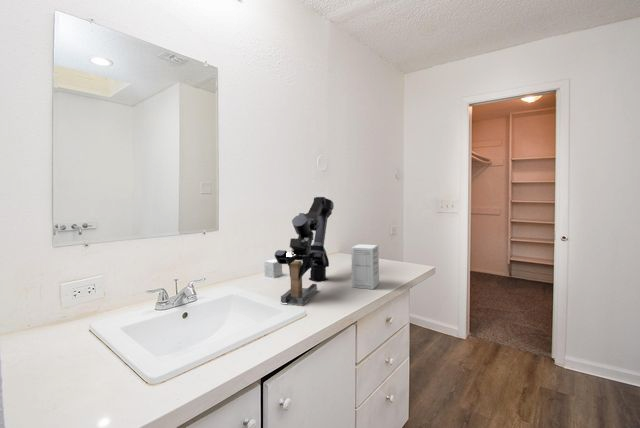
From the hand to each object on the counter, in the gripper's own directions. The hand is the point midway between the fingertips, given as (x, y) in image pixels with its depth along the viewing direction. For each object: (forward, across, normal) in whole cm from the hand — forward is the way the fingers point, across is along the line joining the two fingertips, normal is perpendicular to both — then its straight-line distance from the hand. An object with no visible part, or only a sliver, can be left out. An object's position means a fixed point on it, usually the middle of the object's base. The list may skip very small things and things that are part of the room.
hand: (295, 277), depth 113 cm
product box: (-16, -23, +29) cm, 40 cm away
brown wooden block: (+4, 0, +6) cm, 7 cm away
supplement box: (-12, +22, +24) cm, 35 cm away
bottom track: (+2, 0, +10) cm, 10 cm away
